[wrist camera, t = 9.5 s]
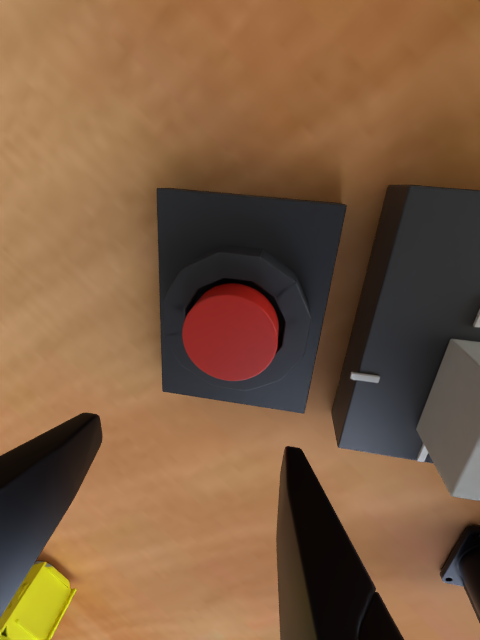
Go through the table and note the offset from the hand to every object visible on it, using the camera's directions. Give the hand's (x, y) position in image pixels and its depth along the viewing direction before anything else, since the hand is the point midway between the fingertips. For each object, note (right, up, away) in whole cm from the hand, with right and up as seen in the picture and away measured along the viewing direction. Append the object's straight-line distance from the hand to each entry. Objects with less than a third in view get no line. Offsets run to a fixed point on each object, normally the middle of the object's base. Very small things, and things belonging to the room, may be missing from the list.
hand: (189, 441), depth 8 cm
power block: (+2, +4, +10) cm, 11 cm away
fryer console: (+12, +3, +9) cm, 16 cm away
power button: (+1, +3, +7) cm, 8 cm away
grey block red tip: (+12, 0, +7) cm, 14 cm away
